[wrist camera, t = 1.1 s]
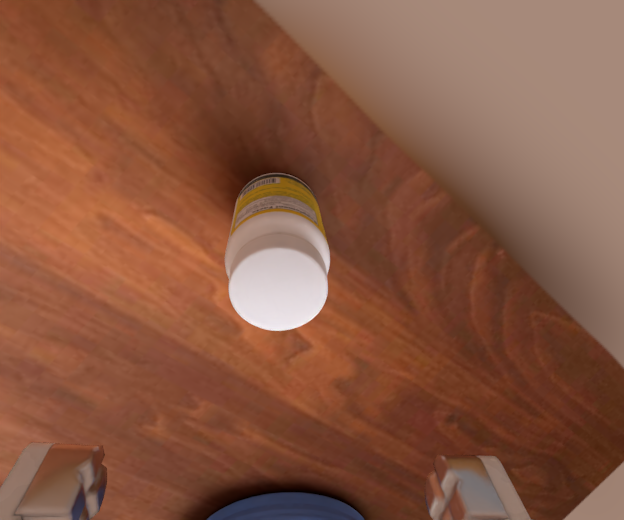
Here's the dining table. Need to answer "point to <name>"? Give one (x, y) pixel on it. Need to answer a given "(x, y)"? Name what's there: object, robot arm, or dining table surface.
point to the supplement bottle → (277, 253)
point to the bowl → (287, 508)
